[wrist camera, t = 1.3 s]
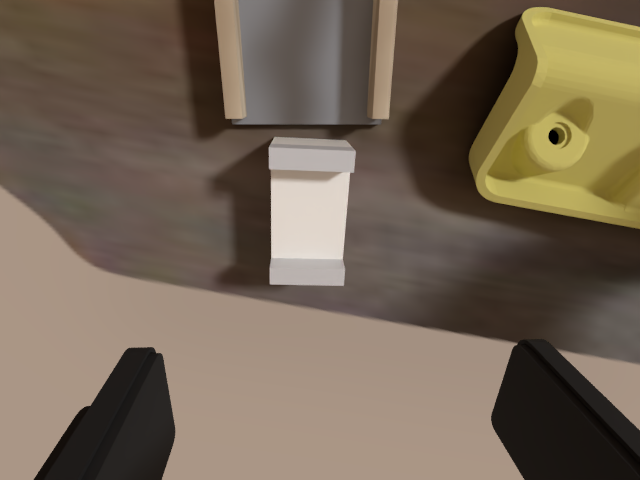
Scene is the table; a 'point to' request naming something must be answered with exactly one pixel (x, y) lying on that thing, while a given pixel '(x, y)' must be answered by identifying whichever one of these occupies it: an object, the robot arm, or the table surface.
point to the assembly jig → (306, 60)
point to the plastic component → (566, 121)
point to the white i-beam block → (309, 210)
